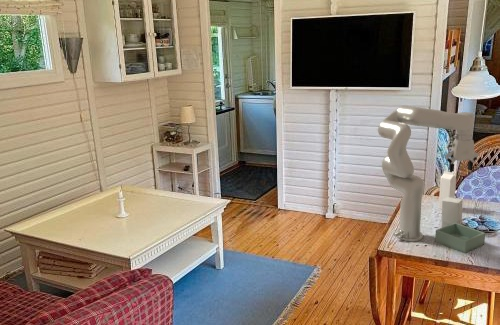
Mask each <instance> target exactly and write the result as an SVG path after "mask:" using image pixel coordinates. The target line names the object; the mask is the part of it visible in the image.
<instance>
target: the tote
mask: <svg viewBox="0 0 500 325" xmlns="http://www.w3.org/2000/svg"><path fill="white" fill-rule="evenodd" d="M434 235H435V240H434V242H435V243H437V244H440V245H442V246H446V247H448V248H450V249H452V250H455V251H457V252H461V253H462V254H467V253H469V252H471V251H473V250H474V251H475V250H476V249H478V248H480V247H483V246H485V240H486V233H485V232H483V231H480V230H478V229H474V228H471V227H469V226H466V225H464V224H462V225H460V224H458V223H453V224H450V225H448V226H445V227H443V228H442V227H440V228H437V229H435V234H434Z"/></svg>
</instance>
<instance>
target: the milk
mask: <svg viewBox="0 0 500 325" xmlns="http://www.w3.org/2000/svg"><path fill="white" fill-rule="evenodd" d="M442 173H443V174H442V175H441V176H440V182H439V196H438V197H439V199H438V209H439V210H441V211H442V200H444V199H445V198H446V197H450V198H456V188H457V186H456V185H457V176H455V173H454V172H452V171H446V170H443V172H442Z"/></svg>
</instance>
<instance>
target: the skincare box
mask: <svg viewBox="0 0 500 325" xmlns="http://www.w3.org/2000/svg"><path fill="white" fill-rule="evenodd" d="M463 200H464V199H461V198H457V197H455V198H450V197H446V198H445V199H444V200H442V210H441V228H443V227H445V226H448V225H450V224H453V223H458V224H460V225H463V224H462V223H463V222H462V221H463Z"/></svg>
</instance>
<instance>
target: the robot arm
mask: <svg viewBox="0 0 500 325" xmlns="http://www.w3.org/2000/svg"><path fill="white" fill-rule="evenodd" d="M474 121H475V114H474V113H473V112H467V111H465V112H456V113H455V112H454V113H453V112H447V111H443V110H439V109H433V108H424V107H417V106H411V105H410V106H409V105H401V106H399V107H397V108H396V109H395V110H393V111H392V112H391V113H390V114H388V115H387V116H386V117H385V118H384V119H382V120H381V121H380V123H379V125H378V127H377V132H378V135H379V136H381V137H382V138H384V139H388V140H390V141H391V142H390V144H389V145H388V148H387V151H386V153H387V155H386V156H384V158H383V160H382V161H381V168H382V169H381V170H382V172H383V174H384V175H385V178H386V179H387V181H388V183H389V185H390V186H391V187H392V188H393V189H394V190H395V191H396V190H397V191H399V192H402V193H403V194H404V195H403V196H402V198H401V200H400V204H399V205H400V207H399V208H400V211H399V212H400V213H399V214H400V215H399V227H398V230H397V231H396V232H393V237H394V238H398V239H399V240H402V241H406V242H419V241H422V240H423V238H424V234H423V233H422V232H421V221H422V220H421V218H422V215H421V214H422V202H423V201H422V200H423V194H424V191H425V182H424V180H423V179H422V178H421V177H419V176H418V175H415V174H414V172H415V168H414V167H415V166H414V165H413V162H412V160H411V158H410V156H409V153H408V151H407V146H408V142H409V140H410V138H411V135H412V129H411V127H410V126H415V127H425V128H431V129H433V128H434V129H442V130H443V129H445V130H451V131H452V130H453V131H454V130H455V134H454V135H453V136H452V138H453V142H452V145H451V151H450V152H448V153H446V154H444V156H445V159H446V161H447V162H448V164H449V165H448V170H449V172H452V173H454V171H455V164H454V163H455V162H456V161H459V162H461V161H468V162H467V170H469V171H470V172H471V171H473V167H474V164H475V162H476V160H477V159H478V158H479V156H480V153H478V152H476V151H475V141H474V139H473V130H474V124H475V123H474Z"/></svg>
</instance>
